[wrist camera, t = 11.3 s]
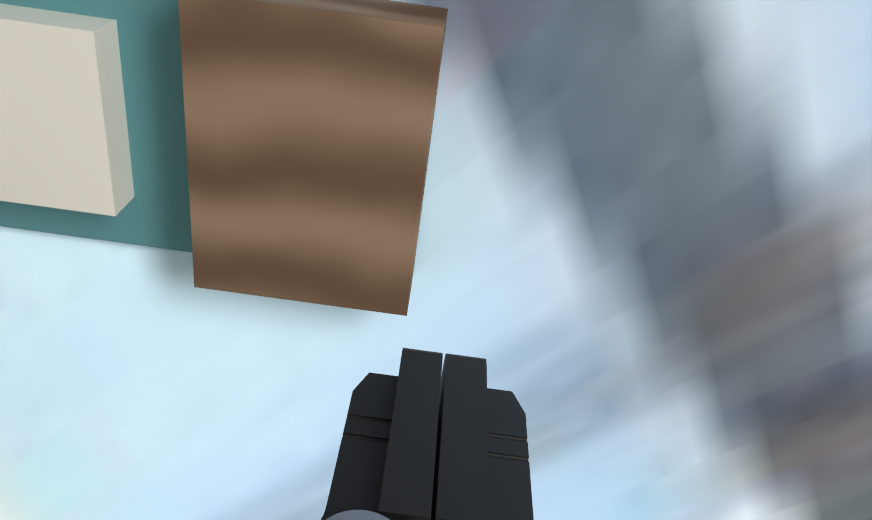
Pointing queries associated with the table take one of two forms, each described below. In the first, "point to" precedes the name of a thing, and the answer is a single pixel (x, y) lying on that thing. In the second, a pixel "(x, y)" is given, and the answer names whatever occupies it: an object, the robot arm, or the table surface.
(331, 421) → the table surface
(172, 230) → the mat
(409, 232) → the deck
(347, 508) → the robot arm
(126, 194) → the cream rectangular tile
